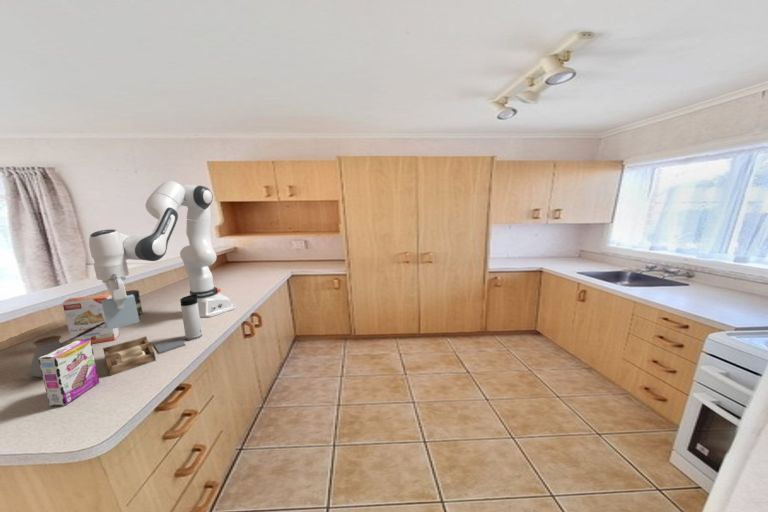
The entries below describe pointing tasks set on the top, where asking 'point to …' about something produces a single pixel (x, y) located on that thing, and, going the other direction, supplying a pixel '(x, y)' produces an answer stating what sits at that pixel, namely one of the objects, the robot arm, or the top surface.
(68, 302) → the cracker box
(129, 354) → the upper offcut
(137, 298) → the coffee can
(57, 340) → the coffee pot
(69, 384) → the candy bar box
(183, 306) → the travel mug
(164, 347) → the mat
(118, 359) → the block
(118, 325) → the board
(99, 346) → the top surface
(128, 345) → the rack
